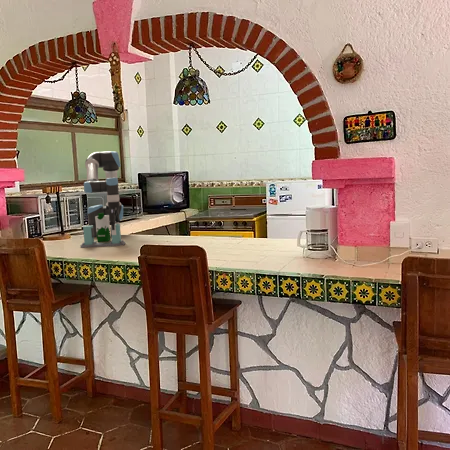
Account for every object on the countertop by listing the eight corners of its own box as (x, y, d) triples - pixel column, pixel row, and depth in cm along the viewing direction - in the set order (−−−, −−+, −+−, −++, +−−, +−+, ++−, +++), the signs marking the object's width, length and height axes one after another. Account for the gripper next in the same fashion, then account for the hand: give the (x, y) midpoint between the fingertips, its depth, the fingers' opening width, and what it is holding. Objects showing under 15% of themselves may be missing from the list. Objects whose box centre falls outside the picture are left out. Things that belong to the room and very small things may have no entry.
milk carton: (95, 242, 335) (93, 213, 333) (100, 240, 344) (98, 212, 341) (108, 241, 334) (105, 213, 332) (112, 239, 343) (110, 212, 341)
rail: (83, 245, 321) (83, 241, 321) (125, 243, 322) (125, 239, 322) (80, 247, 314) (80, 243, 314) (123, 245, 315) (123, 241, 315)
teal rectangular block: (86, 243, 320) (85, 225, 319) (95, 243, 320) (93, 225, 319) (84, 244, 315) (83, 226, 314) (93, 244, 315) (91, 226, 314)
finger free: (112, 242, 321) (111, 224, 319) (121, 241, 321) (119, 224, 319) (111, 243, 316) (109, 225, 314) (119, 243, 316) (118, 225, 314)
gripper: (111, 200, 327) (114, 231, 330) (103, 203, 302) (106, 236, 305) (122, 199, 327) (125, 230, 330) (115, 202, 303) (118, 235, 305)
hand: (116, 233), depth 317 cm, fingers open, 13 cm apart
